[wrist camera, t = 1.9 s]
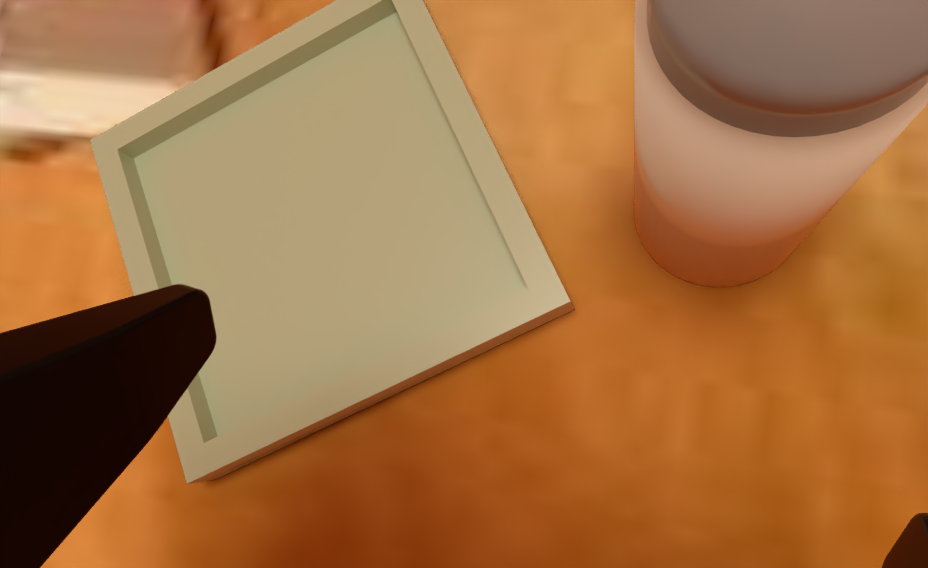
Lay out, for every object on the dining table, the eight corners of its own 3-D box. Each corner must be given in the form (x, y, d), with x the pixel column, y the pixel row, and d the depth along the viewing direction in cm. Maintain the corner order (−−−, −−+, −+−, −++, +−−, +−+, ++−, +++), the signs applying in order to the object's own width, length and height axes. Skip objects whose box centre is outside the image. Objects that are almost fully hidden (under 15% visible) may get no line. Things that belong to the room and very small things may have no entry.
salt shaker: (839, 241, 20) (1142, -31, 8) (680, 314, 21) (745, 162, 9) (752, 104, 22) (900, -297, 10) (606, 177, 23) (576, -113, 10)
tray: (574, 309, 22) (570, 301, 21) (213, 480, 24) (186, 483, 22) (416, -13, 26) (404, -39, 25) (117, 154, 28) (89, 140, 26)
